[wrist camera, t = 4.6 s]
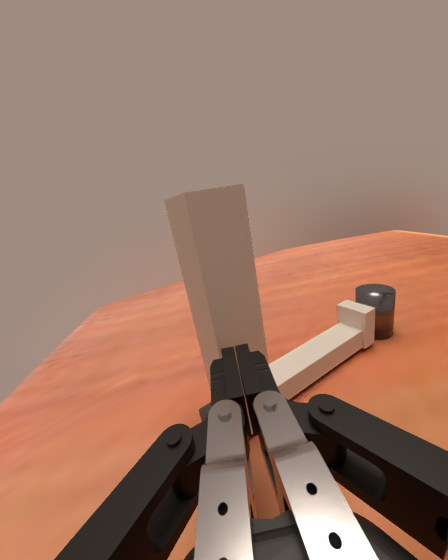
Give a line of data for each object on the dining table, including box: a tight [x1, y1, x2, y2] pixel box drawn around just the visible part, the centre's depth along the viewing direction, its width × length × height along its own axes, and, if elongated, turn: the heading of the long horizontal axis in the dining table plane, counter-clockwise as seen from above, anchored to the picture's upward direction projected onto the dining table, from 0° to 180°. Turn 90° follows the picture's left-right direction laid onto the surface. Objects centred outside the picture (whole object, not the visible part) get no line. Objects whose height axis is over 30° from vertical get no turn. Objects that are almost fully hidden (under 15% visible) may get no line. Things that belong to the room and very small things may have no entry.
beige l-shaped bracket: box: [164, 184, 375, 437], centre depth 19 cm, size 19×4×17 cm, turn 120°
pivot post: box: [356, 284, 396, 340], centre depth 26 cm, size 4×4×5 cm
